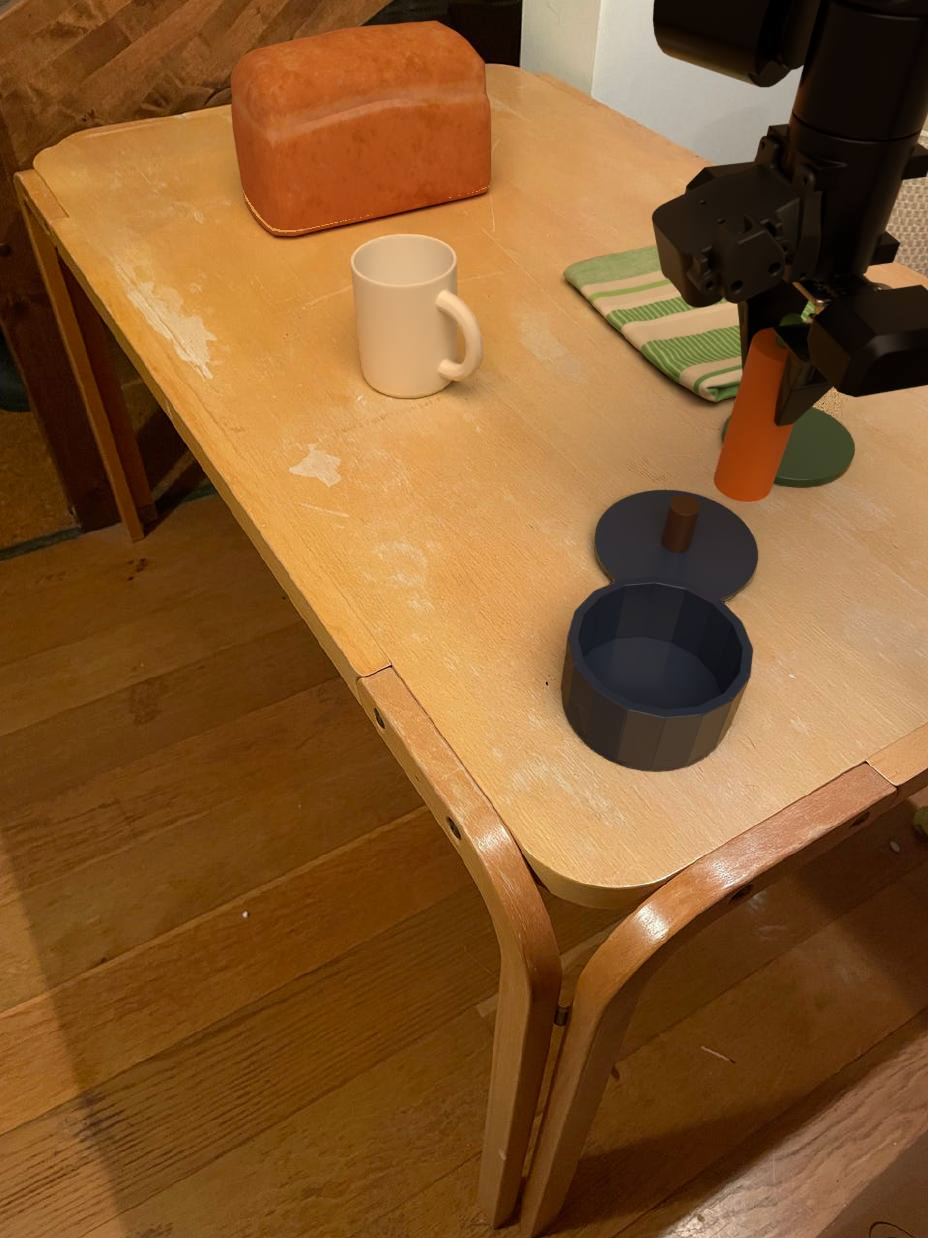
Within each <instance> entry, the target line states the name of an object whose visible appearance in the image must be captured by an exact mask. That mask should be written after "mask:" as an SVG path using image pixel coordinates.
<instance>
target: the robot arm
mask: <svg viewBox="0 0 928 1238" xmlns="http://www.w3.org/2000/svg"><path fill="white" fill-rule="evenodd" d="M652 26H653V27H652V28H653V35H654V38H655V41H656V44H657V46H658V47H659V49H660V50H661V52H662V53H663V54H665V55H666V56H668V57H670V58H673V59H675V60H679V61H682V62H685V63H686V64H687V63H688V64H689V65H693V66H696V67H699V68H702V69H704V70H709V71H711V72H714V73H717V74H720V75H723V76H725V77H728V78H731V79H734V80H738V81H740V82H743V83H747V84H749V85H752V86H755V87H758V88H771V87H774V86H776V85H777V84H778V83H780V82H781V81H783V80H784V79H785V78H786V77H787V76H788V75H789V74H790V73H791V71H793V70H794V71H795V70H798V69H800V68H802V70H801V73H800V77H799V81H798V85H797V90H796V94H795V98H794V100H793V106H792V109H791V112H790V116H789V121H788V123H781V124H771V125H768V127H767V131H766V135H763V136H761V137H760V139H759V143H758V146H757V150H756V155H755V157H754V159H753V160H752V161H743V162H735V163H728V164H719V165H718V164H717V165H710V166H704V167H703V168H702V169H701V170H700V171H699V172H697V174H696V175H695V176H694V177H693V178H692V179H691V180H689V182H688V183H687V184H686V186H685V190H684V193H683V194H681V195H679V196H676V197H674V198H672V199H671V200H668V201H666V202H664V203H662V204H661V205H659V206H658V207H656V208H655V210H654V211H653V212H652V214H651V223H652V228H653V232H654V239H655V245H657V250H658V255H659V260H660V266H661V271H662V274H663V275H664V277H665V278H667V279H669V280H670V281H671V283H672V284H673V285H674V286H675V288H676V289H677V290H678V291H679V292H680V294H681V296H682V299H683V300H684V301H685V303H687V304H688V305H689V306H692V307H696V308H703V307H708V306H711V305H713V304H716V303H718V302H720V301H721V300H722V299H723V297H724V298H725V299H726V300H727V301H728V302H730V303H733V304H737V307H738V316H739V329H740V345H741V360H742V374H743V370H744V367H745V363H746V359H747V356H748V352H749V349H750V345H751V342H752V338H753V336H754V335H755V334H756V333H757V332H759V331H760V330H763V329H766V328H771V327H773V332H774V333H775V334H776V335H777V337H778V338H779V339H780V340H781V341H782V343H783V344H784V345H785V346H786V347H787V349H788V354H787V358H786V363H785V367H784V371H783V376H782V380H781V385H780V389H779V393H778V398H777V403H776V410H775V418H774V422H775V424H776V425H777V426H779V427H780V426H786V425H791V424H793V423H795V422H796V421H797V420H798V419H799V418H800V417H801V416H802V415H803V414H804V413H806V412H807V411H808V410H809V409H810V408H811V407H814V405H816V404H817V403H818V402H819V401H820V400H821V399H822V398H823V397H824V396H825V395H826V394H827V393H828V392H830V390H832V389H833V388H834V389H835V391H837V393H839V394H843V395H846V396H849V397H852V398H862V397H867V396H874V395H880V394H885V393H890V392H891V393H892V392H897V391H902V390H908V389H914V388H919V387H920V388H921V387H926V386H928V289H927V288H926V287H925V286H924V285H923V284H914V285H909V286H901V287H894V288H893V287H892V286H891V285H889V284H886V283H883V282H878V281H877V282H876V281H872V280H870V279H869V278H868V277H867V276H866V275H865V274H866V273H867V272H868V269H869V268H870V267H873V266H881V265H887V264H893V263H894V261H895V259H896V256H897V254H898V252H899V248H900V245H901V242H900V241H899V240H898V239H897V238H896V237H894V236H893V235H892V234H890V233H889V232H888V231H887V230H886V229H887V226H888V224H889V221H890V218H891V215H892V213H893V210H894V208H895V205H896V202H897V200H898V196H899V194H900V191H901V188H902V186H903V182H904V181H907V180H914V179H915V180H916V179H923V178H927V176H928V148H926V147H925V146H923V145H922V144H921V143H919V139H920V137H921V134H922V131H923V128H924V126H925V123H926V120H927V118H928V0H653V6H652ZM809 301H810V302H811V303H812V304H813V305H814V306H815V309H814V313H810V314H808V317H807V321H806V322H803V323H796V324H789V325H783V326H779V325H780V322H781V320H782V318H783V317H784V316H785V315H787V314H790V313H796V314H799V315H800V316H801V315H802V313H803V311H804V309H805V307H806V306H807V304H808V302H809Z"/></svg>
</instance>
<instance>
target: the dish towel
mask: <svg viewBox="0 0 928 1238" xmlns="http://www.w3.org/2000/svg"><path fill="white" fill-rule="evenodd" d="M562 276H564V278H565V280H566V281H567V282H569V283H570V284H571V285H572V286H574V287H575V288H576V290H577V291H579V292H580V293H581V295H583V297H584V298H585V299H586V300H587V301H588V302H589V303H590V304H591V306H592V307H594V308H595V309H596V310H597V312H599V313H600V315H601V316H602V317H603V318H604V319H605V320H606V321H607V322H608V323H609V325H611V326H612V327H613V329H615V330H617V332H618V333H620V334H621V335H623V336H624V338H625V339H626V340H627V341H628V342H629V343H630V344H631V345H632V346H633V347H634V348H635V349H636V350H637V351H638V352H640V354H641V355H643V356H644V358H646V359H647V360H648V361H649V362H650V363H651V364H653V366H655V367H656V368H657V369H658V370H659V371H661V372H662V373H663V374H664V375H665V376H667V377H668V378H670V379H672V380H673V381H674V382H676V383H678V384H679V385H681V386H682V387H685V388H687V389H688V390H690V392H693V393H694V394H695V395H697V396H699V397H701V398H703V399H705V400H707V401H710V402H713V403H717V402H720V401H723V400H727V399H730V398H734V397H736V395H737V392H738V388H739V385H740V381H741V377H742V360H741V345H740V329H739V316H738V307H737V304H733V303H730V302H728V301H727V300H726V299H725V298H724V297H723V299H722V300H721V301H720V302H718V303H716V304H713V305H711V306H708V307H703V308H696V307H692V306H689V305H688V304H687V303H685V301H684V300H683V299H682V296H681V294H680V292H679V291H678V290H677V289H676V288H675V286H674V285H673V284H672V283H671V281H670V280H669V279H667V278H665V277H664V275H663V274H662V271H661V266H660V260H659V255H658V250H657V244H654V245H649V246H644V247H638V248H633V249H629V250H626V251H621V252H616V253H611V254H604V255H598V256H594V257H591V258H588V259H583V260H580V261H579V262H575V263H572V264H570V265H568V266H567V267H566V268H565V270H564V271H563V272H562ZM814 309H815V306H814V305H813V304H812V303H811V302H810V301H809V302H808V304H807V306H806V307H805V309H804V311H803V313H802V315H801V317H802V319H803V322H806V321H807V317H808V314H810V313H814Z"/></svg>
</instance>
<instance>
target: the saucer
mask: <svg viewBox="0 0 928 1238" xmlns="http://www.w3.org/2000/svg"><path fill="white" fill-rule="evenodd" d="M730 417H731V414H730V415H729V416H728V417H727V419H726V421H725V422H724V425H723V429H722V433H721V442H722V444H723V442H724V438H725V435H726V431H727V428H728V424H729V420H730ZM855 445H856V443H855V441H854V438H853V436H852V434H851V432H850V431H849V430H848V428H847V427H845V425H844V424H842V422H841V421H839V420H838V419H837V418H835V417H834V416H832V415H831V414H829V413H828V412H825V411H824V410H821V409H819V408H817V407H814V406H812V407H811V408H810V409H809V410H808V411H807V412H806V413H804V414H803V415H802V416H801V417H800V418H799V419H798V420H797V421H796V422H795V423H794V425H793V428H792V431H791V434H790V436H789V439H788V442H787V445H786V448H785V451H784V454H783V457H782V459H781V462H780V465H779V468H778V471H777V474H776V477H775V480H774V482H773V485H777V486H782V487H789V488H813V487H814V488H815V487H820V486H824V485H827V484H830V483H833V482H835V481H837V480H839V479H840V478H841V477H843V476H844V475H845V474H846V473H847V471H848V470H849V469H850V467H851V465H852V463H853V460H854V457H855V453H856V446H855Z"/></svg>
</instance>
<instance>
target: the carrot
mask: <svg viewBox="0 0 928 1238" xmlns="http://www.w3.org/2000/svg"><path fill="white" fill-rule="evenodd" d="M796 323H803V319H802V317H801V316H800V315H799V314H796V313H790V314H787V315H785V316H784V317H783V318H782V320H781V322H780V325H779V326H783V325H789V324H796ZM787 354H788V349H787V347H786V346H785V345H784V344H783V343H782V341H781V340H780V339H779V338H778V337H777V335H776V334H775V333H774V332H773V327H771V328H766V329H763V330H760V331H759V332H757V333H756V334H755V335H754V336H753V338H752V342H751V345H750V349H749V352H748V356H747V359H746V363H745V367H744V370H743V374H742V377H741V381H740V385H739V388H738V392H737V395H736V396H735V399H734V403H733V407H732V410H731V414H730V415H731V417H730V420H729V424H728V428H727V431H726V435H725V438H724V442H723V443H722V446H721V449H720V452H719V456H718V459H717V463H716V468H715V472H714V475H713V484H714V486H715V489H717V491H718V492H719V493H720V494H722V495H723V496H724V497H726V498H728V499H730V500H733V501H736V502H740V503H754V502H759V501H761V500H764V499H765V498H767V496H769V494H770V493H771V490H772V488H773V485H774V484H773V482H774V480H775V477H776V474H777V471H778V468H779V465H780V462H781V459H782V457H783V454H784V451H785V448H786V445H787V442H788V439H789V436H790V434H791V431H792V428H793V425H794V423H793V424H791V425H786V426H780V427H779V426H777V425H776V424H775V422H774V418H775V410H776V403H777V398H778V393H779V389H780V385H781V380H782V376H783V371H784V367H785V363H786V358H787Z"/></svg>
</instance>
